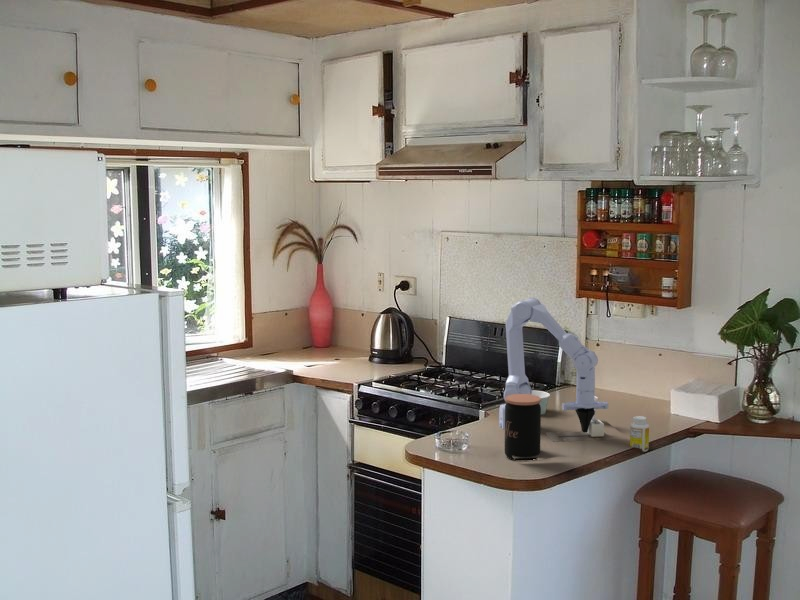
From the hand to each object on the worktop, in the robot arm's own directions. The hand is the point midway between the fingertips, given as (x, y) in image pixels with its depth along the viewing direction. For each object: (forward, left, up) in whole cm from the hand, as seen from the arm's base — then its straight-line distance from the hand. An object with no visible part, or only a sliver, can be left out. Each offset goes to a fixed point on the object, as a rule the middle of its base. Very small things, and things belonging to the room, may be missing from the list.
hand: (584, 431), depth 291 cm
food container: (-8, +37, -3) cm, 38 cm away
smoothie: (+6, +17, -3) cm, 18 cm away
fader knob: (+3, 0, -1) cm, 4 cm away
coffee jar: (-24, -14, -3) cm, 28 cm away
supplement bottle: (+13, -12, -3) cm, 18 cm away
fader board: (-2, 0, -3) cm, 4 cm away
